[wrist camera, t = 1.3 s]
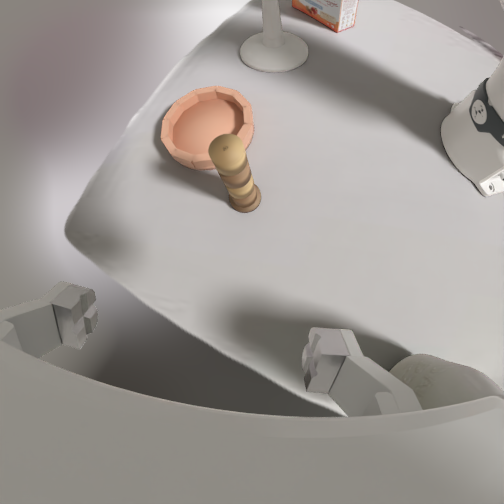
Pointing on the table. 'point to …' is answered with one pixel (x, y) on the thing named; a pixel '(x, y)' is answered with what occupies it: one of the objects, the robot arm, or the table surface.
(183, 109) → the dish
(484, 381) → the glass bottle
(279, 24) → the candlestick
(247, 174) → the tan wooden ridged cylinder
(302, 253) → the table surface
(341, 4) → the cracker box
